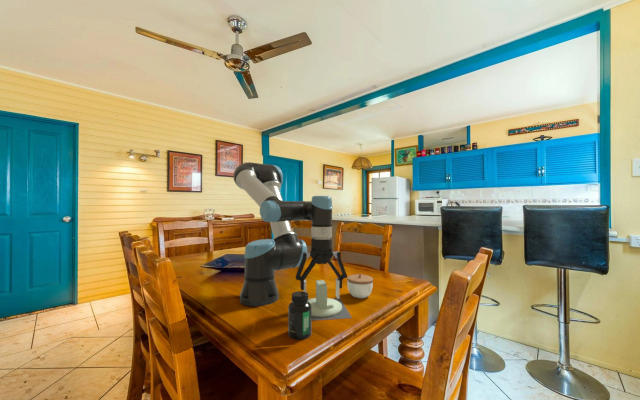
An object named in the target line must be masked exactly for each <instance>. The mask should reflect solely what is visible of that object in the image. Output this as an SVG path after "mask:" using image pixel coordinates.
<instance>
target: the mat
mask: <svg viewBox="0 0 640 400" xmlns="http://www.w3.org/2000/svg"><path fill="white" fill-rule="evenodd" d="M333 299H334V300H337V301H339V302H340V303H341V304H342V311H341V312H340V313H339V314H338V315H335V316H332V317H325V318H318V317H312V321H327V320H329V321H330V320H342V319H353V318H352V316H351V314H350V312H349V310H348V309H347V307H346V306H345V304H344V303H343V301H342V299H341V297H339V299H337V297H336V298H333Z"/></svg>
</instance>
